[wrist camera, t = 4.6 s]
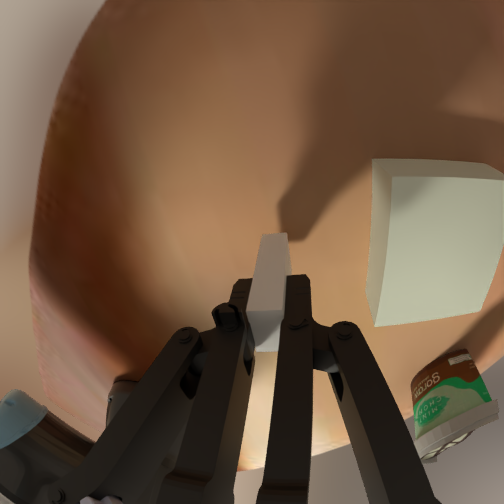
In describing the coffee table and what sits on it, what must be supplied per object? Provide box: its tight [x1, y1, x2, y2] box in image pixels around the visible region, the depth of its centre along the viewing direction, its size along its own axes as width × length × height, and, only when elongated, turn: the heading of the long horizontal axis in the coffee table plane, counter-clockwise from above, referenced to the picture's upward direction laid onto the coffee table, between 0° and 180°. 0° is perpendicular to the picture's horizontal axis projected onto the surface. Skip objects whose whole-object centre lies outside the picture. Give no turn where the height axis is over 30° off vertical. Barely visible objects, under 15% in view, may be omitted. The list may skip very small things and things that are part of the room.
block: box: [365, 159, 504, 327], centre depth 15 cm, size 9×10×4 cm
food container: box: [411, 349, 499, 464], centre depth 21 cm, size 12×6×10 cm, turn 176°
